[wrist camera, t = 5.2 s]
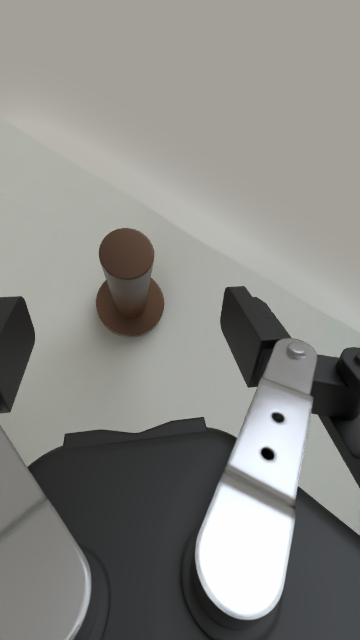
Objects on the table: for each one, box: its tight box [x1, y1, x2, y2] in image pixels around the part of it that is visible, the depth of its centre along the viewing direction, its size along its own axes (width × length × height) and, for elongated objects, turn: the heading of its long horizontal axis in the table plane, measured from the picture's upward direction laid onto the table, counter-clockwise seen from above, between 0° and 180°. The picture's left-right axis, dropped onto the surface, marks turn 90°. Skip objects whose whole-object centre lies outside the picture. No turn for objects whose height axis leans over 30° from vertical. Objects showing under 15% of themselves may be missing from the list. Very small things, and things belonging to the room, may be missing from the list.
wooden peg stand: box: [96, 228, 164, 338], centre depth 17 cm, size 5×5×10 cm
